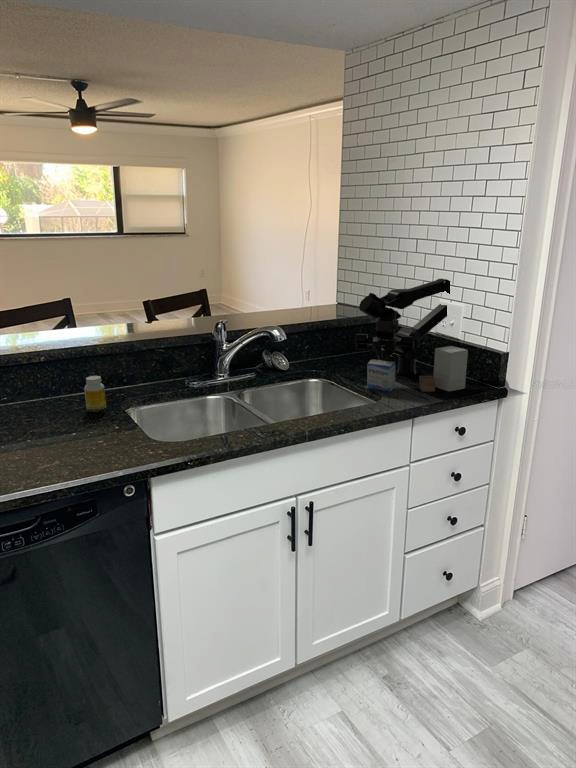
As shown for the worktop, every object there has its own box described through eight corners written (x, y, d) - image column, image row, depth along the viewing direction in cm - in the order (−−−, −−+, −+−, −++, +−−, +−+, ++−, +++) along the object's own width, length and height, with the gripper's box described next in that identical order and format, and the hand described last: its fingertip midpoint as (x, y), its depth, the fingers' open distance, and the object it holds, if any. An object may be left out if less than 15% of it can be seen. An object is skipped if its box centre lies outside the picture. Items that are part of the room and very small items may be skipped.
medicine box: (366, 388, 180) (366, 363, 176) (371, 383, 183) (371, 358, 180) (391, 392, 176) (391, 366, 172) (395, 386, 180) (395, 361, 176)
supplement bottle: (85, 408, 162) (81, 376, 159) (104, 405, 164) (101, 374, 162) (88, 414, 157) (85, 381, 155) (108, 411, 160) (105, 378, 157)
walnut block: (418, 387, 180) (419, 375, 179) (431, 387, 180) (432, 375, 179) (421, 391, 176) (422, 379, 175) (434, 391, 176) (435, 379, 175)
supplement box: (465, 388, 179) (469, 349, 176) (448, 392, 176) (451, 352, 172) (449, 382, 186) (452, 345, 182) (431, 386, 182) (434, 347, 178)
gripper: (356, 309, 182) (350, 350, 175) (415, 311, 177) (411, 353, 170) (358, 328, 191) (353, 368, 184) (415, 331, 187) (411, 372, 179)
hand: (381, 365), depth 179 cm, fingers closed
